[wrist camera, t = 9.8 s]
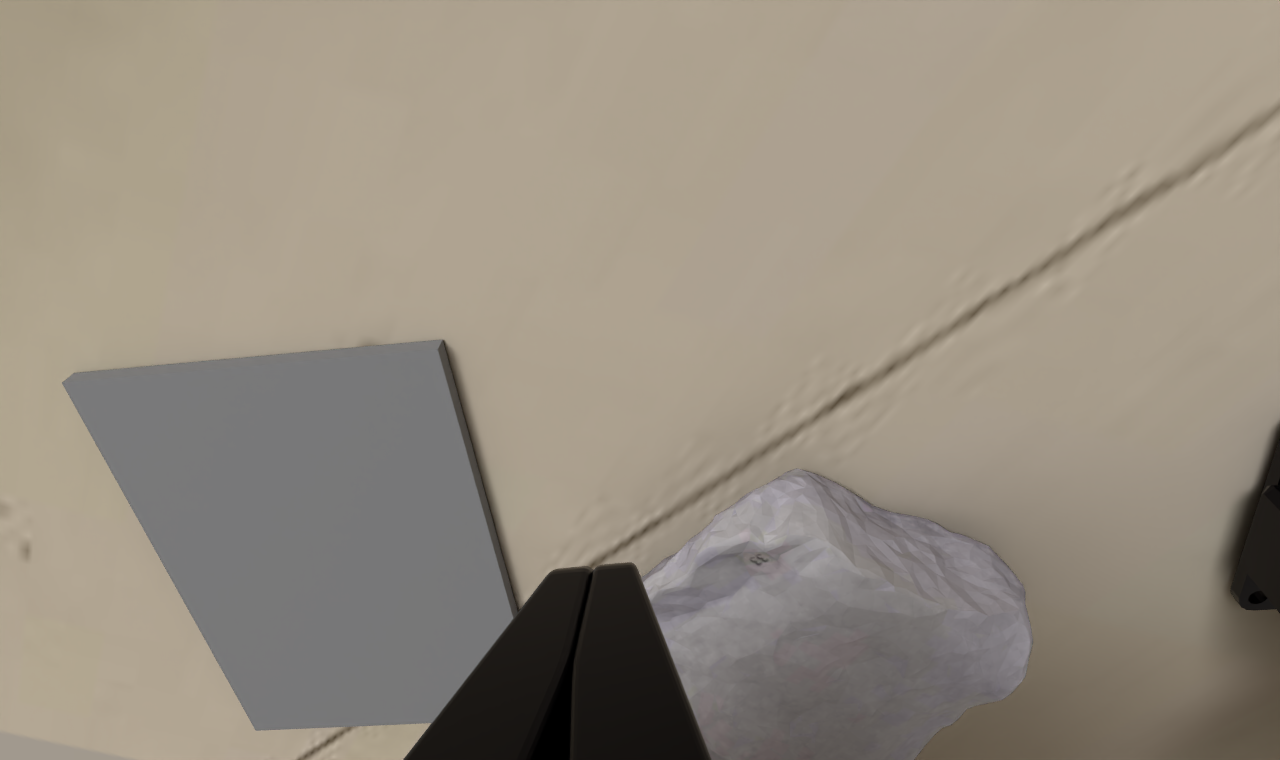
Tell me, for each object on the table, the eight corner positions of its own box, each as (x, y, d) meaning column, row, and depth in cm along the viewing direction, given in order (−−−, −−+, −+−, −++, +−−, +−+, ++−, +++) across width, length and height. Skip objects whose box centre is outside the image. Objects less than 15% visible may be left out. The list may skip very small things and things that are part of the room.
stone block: (555, 643, 28) (804, 783, 29) (508, 757, 24) (802, 919, 25) (732, 377, 23) (1035, 553, 24) (714, 462, 19) (1083, 675, 19)
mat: (442, 339, 21) (437, 349, 20) (543, 705, 28) (541, 718, 27) (73, 373, 22) (62, 382, 21) (262, 718, 29) (255, 730, 28)
